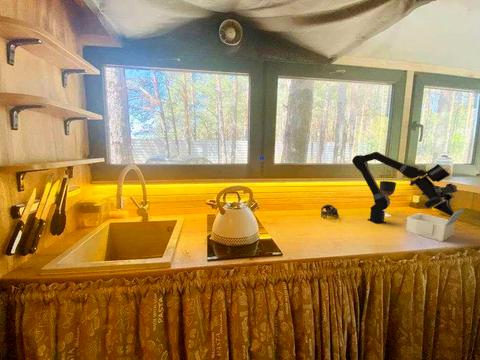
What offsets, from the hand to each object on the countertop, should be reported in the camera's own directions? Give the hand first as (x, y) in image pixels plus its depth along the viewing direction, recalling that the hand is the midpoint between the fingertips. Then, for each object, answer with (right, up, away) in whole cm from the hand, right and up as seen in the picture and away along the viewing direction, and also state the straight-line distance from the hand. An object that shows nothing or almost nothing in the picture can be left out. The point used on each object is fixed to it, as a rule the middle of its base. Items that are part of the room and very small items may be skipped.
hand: (454, 216), depth 104 cm
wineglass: (-8, -5, +37) cm, 38 cm away
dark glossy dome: (-44, -5, +32) cm, 55 cm away
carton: (-5, -10, +8) cm, 13 cm away
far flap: (0, 0, 0) cm, 0 cm away
